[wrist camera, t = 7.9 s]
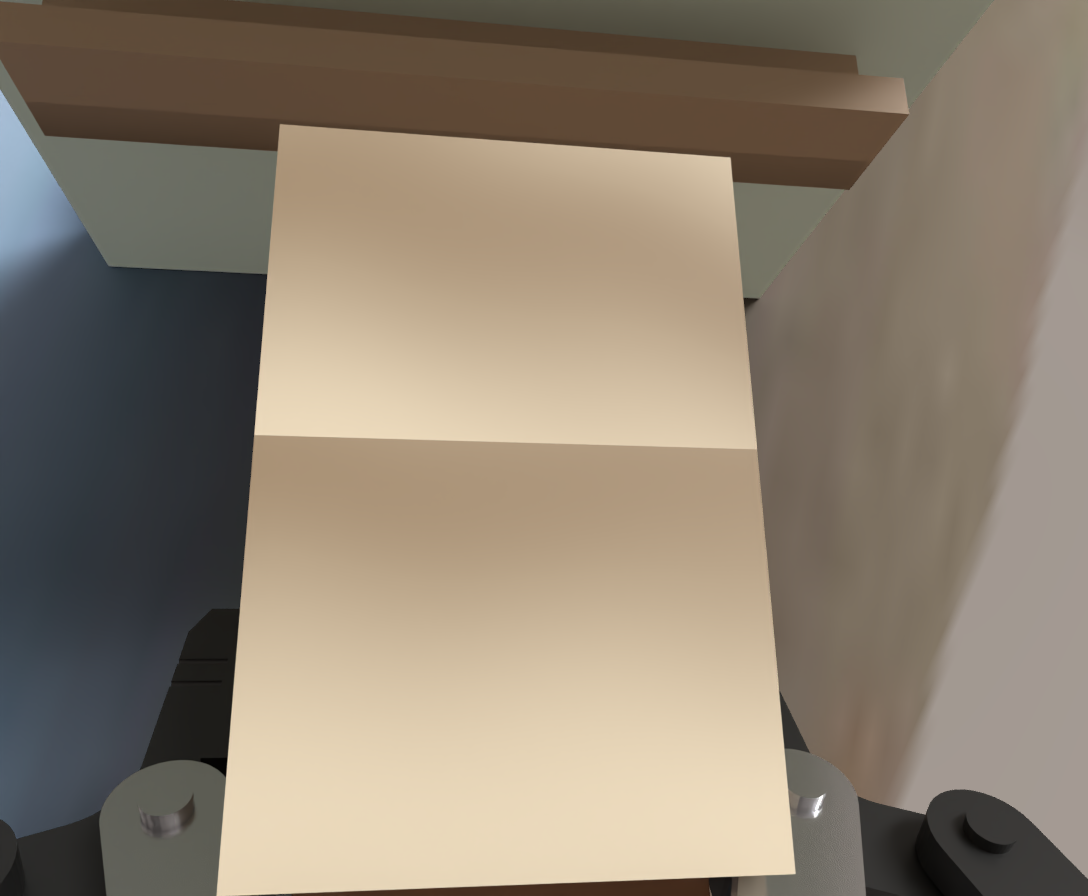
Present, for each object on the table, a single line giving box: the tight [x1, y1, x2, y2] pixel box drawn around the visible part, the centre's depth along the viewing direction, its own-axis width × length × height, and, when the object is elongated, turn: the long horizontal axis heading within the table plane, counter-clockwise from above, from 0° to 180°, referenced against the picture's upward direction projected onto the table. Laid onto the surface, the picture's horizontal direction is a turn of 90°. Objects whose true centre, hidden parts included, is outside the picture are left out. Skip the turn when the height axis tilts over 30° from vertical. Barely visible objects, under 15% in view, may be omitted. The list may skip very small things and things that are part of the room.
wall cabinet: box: [217, 124, 796, 896], centre depth 14 cm, size 9×5×10 cm, turn 1°
